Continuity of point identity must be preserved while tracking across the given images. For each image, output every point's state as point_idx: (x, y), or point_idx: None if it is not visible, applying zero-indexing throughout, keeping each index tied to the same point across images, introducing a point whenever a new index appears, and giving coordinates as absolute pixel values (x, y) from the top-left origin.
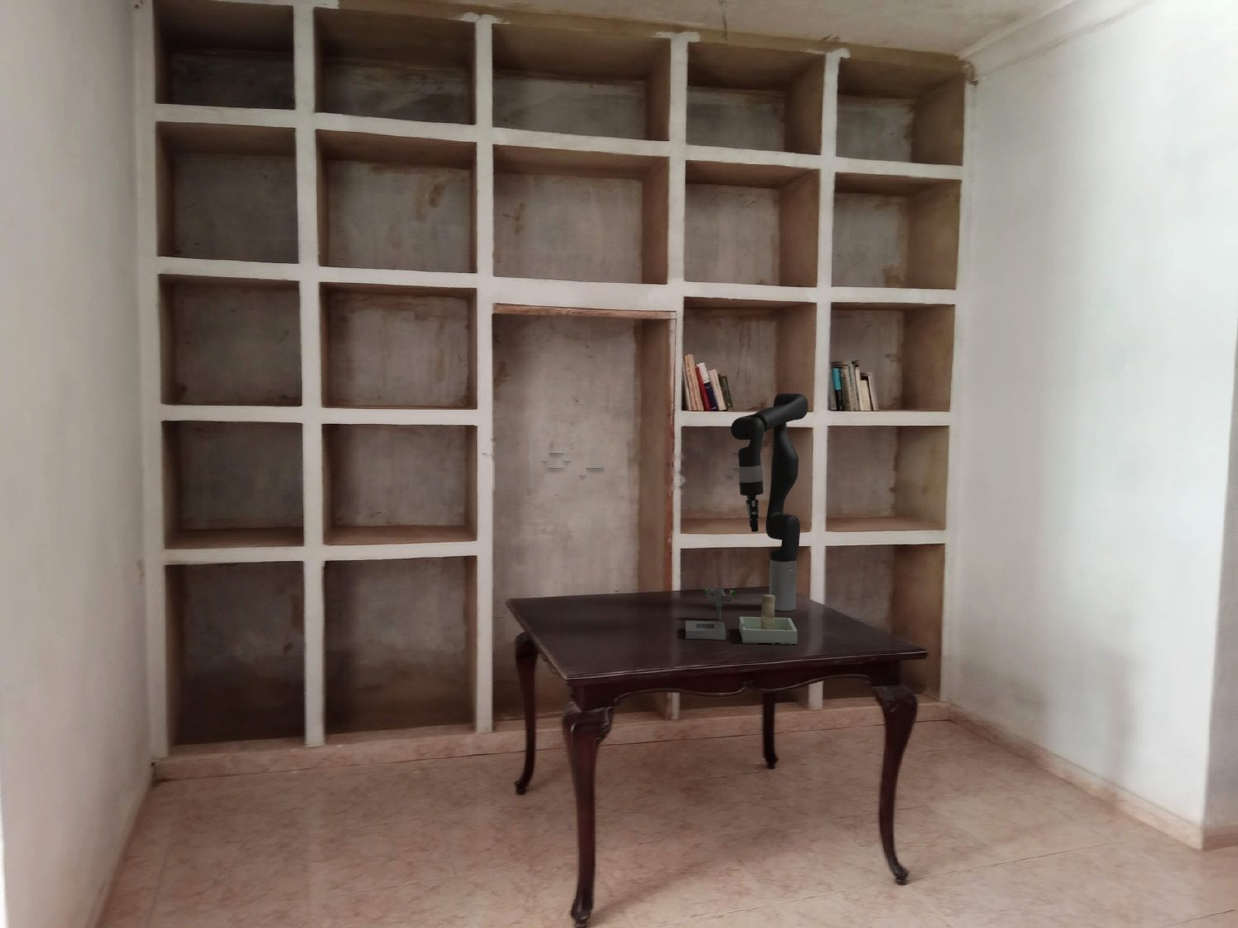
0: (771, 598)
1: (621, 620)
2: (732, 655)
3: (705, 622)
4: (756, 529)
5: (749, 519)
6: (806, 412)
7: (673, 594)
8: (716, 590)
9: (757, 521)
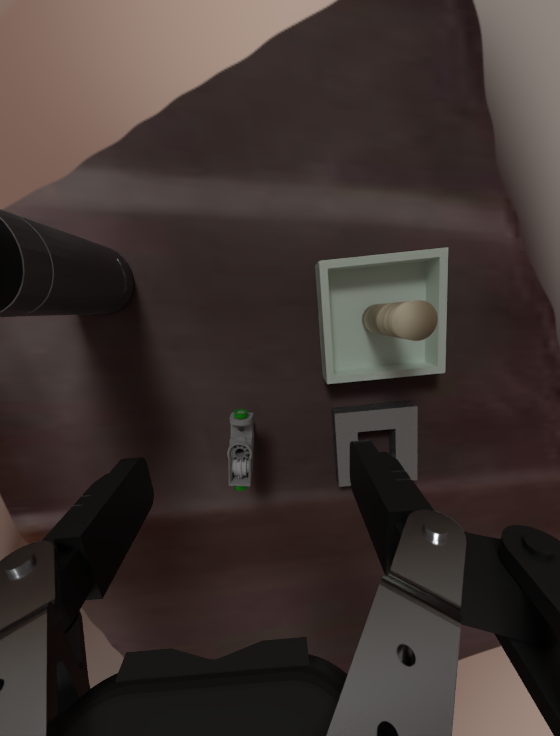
0: (435, 311)
1: (299, 585)
2: (516, 383)
3: (347, 449)
4: (391, 460)
5: (119, 565)
6: None
7: (52, 524)
8: (250, 459)
9: (409, 501)
